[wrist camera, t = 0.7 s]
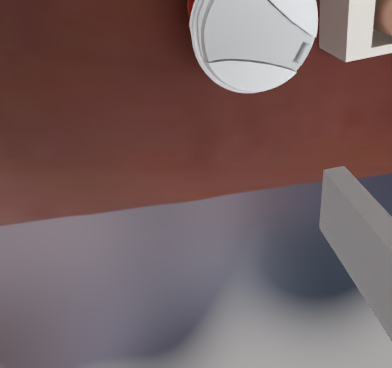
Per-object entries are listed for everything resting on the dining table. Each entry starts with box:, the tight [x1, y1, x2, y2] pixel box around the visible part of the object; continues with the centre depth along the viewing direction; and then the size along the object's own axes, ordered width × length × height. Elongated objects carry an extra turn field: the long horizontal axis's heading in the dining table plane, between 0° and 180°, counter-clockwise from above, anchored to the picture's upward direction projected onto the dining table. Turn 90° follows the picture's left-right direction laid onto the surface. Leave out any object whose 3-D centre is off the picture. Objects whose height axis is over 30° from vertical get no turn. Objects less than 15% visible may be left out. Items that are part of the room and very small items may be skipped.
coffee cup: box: [187, 0, 318, 93], centre depth 29 cm, size 8×8×15 cm
